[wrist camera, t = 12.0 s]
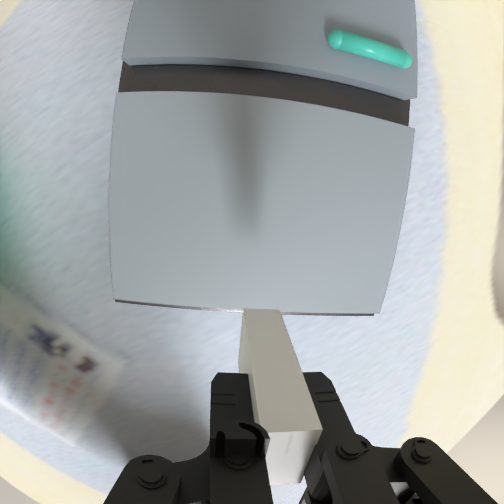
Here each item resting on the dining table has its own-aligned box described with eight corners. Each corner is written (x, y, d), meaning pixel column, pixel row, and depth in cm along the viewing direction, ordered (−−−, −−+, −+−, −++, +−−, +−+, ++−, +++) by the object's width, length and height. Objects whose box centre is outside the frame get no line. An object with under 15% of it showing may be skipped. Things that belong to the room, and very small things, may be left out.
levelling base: (358, 297, 24) (373, 315, 21) (127, 283, 22) (114, 301, 19) (387, -25, 15) (403, -39, 12) (167, -57, 14) (161, -77, 11)
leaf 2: (371, 303, 20) (379, 313, 19) (120, 288, 19) (113, 299, 17) (402, 129, 17) (414, 128, 15) (124, 96, 15) (116, 92, 14)
